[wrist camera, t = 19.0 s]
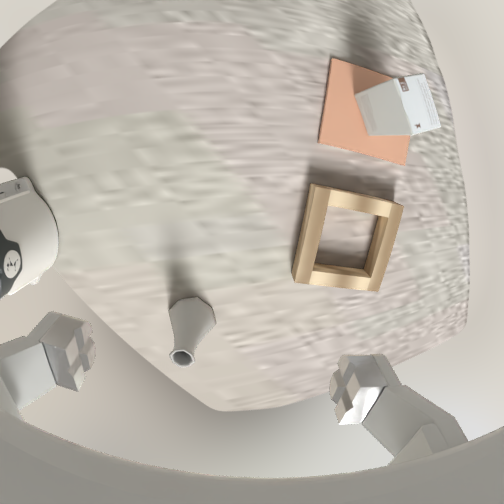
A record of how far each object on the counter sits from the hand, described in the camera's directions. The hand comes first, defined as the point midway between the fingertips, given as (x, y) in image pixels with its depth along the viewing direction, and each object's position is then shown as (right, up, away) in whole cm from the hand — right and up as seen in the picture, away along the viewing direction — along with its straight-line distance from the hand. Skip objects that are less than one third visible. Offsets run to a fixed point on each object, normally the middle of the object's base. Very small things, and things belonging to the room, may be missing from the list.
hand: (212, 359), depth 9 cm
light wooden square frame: (+14, +5, +32) cm, 35 cm away
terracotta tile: (+17, +22, +25) cm, 38 cm away
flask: (-8, -7, +36) cm, 37 cm away
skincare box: (+17, +22, +25) cm, 37 cm away
